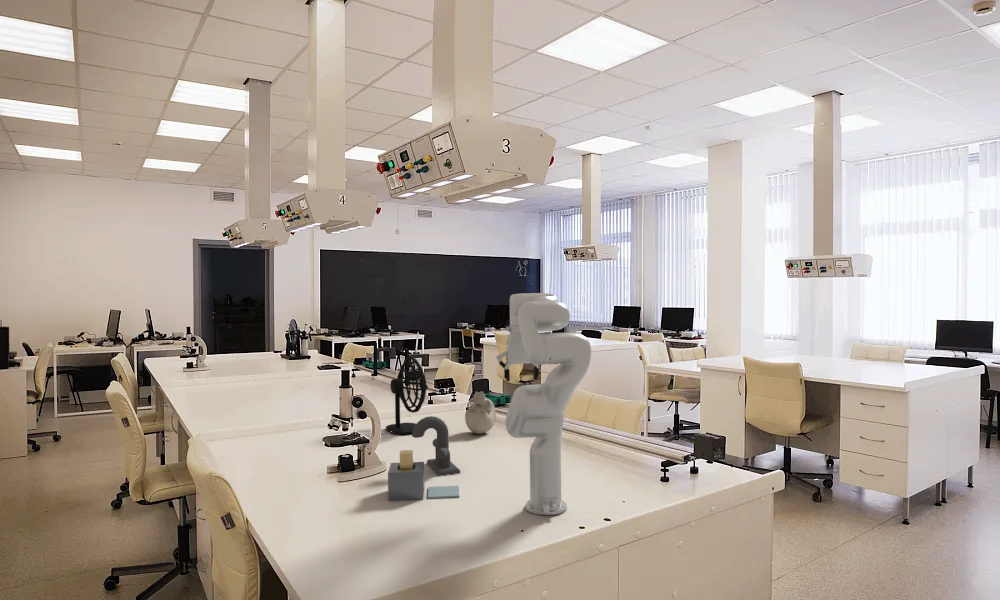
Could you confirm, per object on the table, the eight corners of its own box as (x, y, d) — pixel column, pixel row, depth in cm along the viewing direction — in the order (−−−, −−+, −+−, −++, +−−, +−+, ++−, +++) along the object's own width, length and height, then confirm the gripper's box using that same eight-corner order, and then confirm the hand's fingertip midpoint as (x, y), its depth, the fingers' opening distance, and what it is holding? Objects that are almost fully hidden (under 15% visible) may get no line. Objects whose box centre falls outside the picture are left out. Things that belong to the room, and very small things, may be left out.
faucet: (407, 465, 229) (406, 413, 229) (447, 460, 235) (446, 410, 235) (418, 479, 212) (417, 422, 212) (460, 473, 218) (459, 419, 218)
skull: (462, 436, 275) (462, 392, 275) (473, 428, 289) (472, 387, 289) (488, 437, 271) (488, 393, 271) (498, 430, 285) (498, 388, 285)
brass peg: (412, 490, 194) (412, 453, 194) (400, 490, 194) (399, 453, 194) (413, 486, 198) (412, 450, 198) (401, 486, 198) (400, 450, 198)
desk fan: (435, 433, 281) (434, 358, 281) (400, 438, 272) (399, 361, 271) (412, 422, 304) (411, 354, 304) (379, 427, 295) (378, 356, 294)
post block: (423, 499, 191) (422, 471, 191) (388, 501, 190) (387, 472, 190) (424, 488, 202) (424, 461, 202) (391, 489, 201) (391, 462, 201)
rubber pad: (459, 497, 192) (459, 495, 192) (428, 498, 192) (427, 496, 192) (458, 487, 202) (458, 485, 202) (428, 488, 202) (428, 486, 202)
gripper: (498, 331, 199) (498, 382, 199) (548, 330, 202) (548, 380, 202) (494, 330, 206) (494, 379, 207) (542, 328, 209) (543, 377, 210)
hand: (521, 380), depth 204 cm, fingers open, 9 cm apart
